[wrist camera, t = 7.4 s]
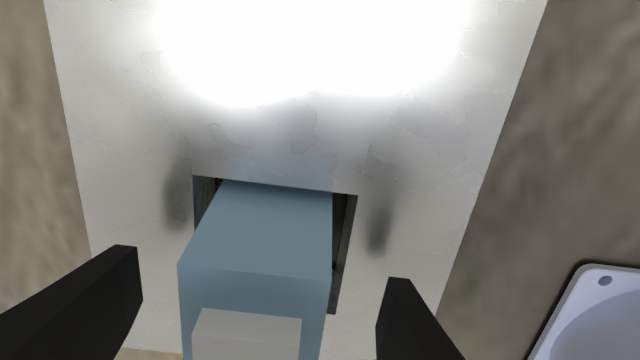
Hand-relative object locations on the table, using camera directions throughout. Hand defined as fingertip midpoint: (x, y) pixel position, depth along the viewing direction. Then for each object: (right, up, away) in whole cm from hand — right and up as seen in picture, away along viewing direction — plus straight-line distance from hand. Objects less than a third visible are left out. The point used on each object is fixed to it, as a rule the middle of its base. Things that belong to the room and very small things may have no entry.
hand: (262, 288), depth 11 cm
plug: (0, +2, +4) cm, 4 cm away
